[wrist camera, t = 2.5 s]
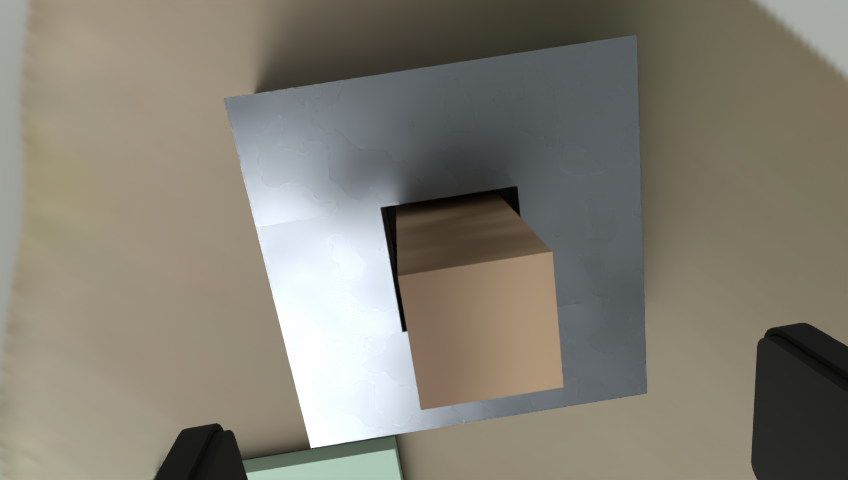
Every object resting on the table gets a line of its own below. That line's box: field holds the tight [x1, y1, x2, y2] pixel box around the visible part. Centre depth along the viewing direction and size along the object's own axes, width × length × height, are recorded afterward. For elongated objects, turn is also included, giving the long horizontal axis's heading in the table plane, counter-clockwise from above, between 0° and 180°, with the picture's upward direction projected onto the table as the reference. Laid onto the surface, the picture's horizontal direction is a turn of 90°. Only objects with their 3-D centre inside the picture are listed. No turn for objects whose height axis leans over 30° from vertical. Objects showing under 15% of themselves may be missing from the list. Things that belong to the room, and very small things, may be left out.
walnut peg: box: [396, 190, 563, 410], centre depth 19 cm, size 4×4×10 cm
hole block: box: [224, 35, 647, 448], centre depth 22 cm, size 14×14×4 cm
